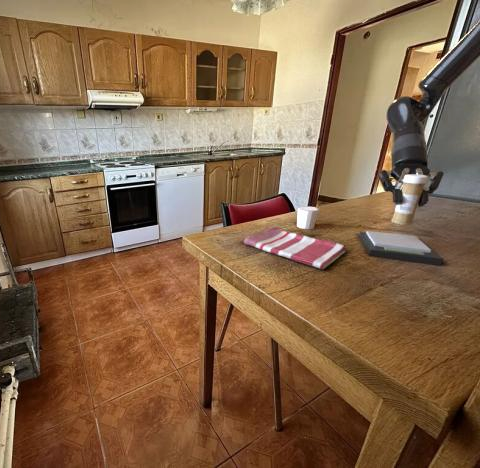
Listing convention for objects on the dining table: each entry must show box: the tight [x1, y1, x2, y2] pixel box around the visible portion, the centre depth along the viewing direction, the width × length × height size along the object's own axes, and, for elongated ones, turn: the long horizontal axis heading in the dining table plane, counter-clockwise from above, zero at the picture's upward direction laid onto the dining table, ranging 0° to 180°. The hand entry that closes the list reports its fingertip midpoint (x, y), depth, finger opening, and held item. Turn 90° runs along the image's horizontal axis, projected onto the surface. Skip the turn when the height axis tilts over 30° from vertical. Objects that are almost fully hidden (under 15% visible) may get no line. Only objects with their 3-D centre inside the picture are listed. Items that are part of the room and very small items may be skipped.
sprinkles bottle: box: [391, 174, 429, 226], centre depth 70 cm, size 5×5×14 cm
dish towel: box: [243, 225, 346, 270], centre depth 77 cm, size 17×23×3 cm
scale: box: [358, 230, 444, 267], centre depth 74 cm, size 15×15×3 cm
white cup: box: [296, 205, 320, 230], centre depth 94 cm, size 7×7×7 cm
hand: (410, 203), depth 69 cm, fingers closed on sprinkles bottle, 4 cm apart
